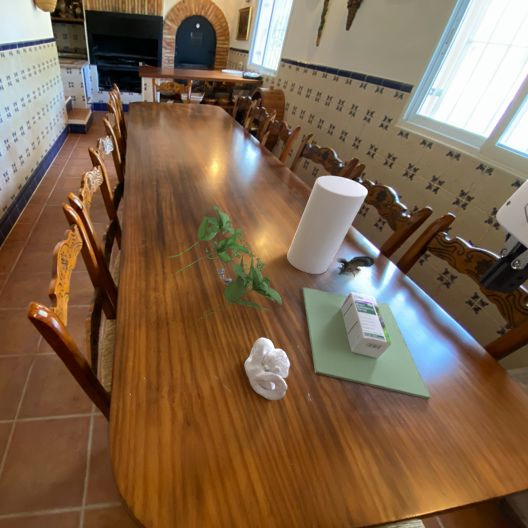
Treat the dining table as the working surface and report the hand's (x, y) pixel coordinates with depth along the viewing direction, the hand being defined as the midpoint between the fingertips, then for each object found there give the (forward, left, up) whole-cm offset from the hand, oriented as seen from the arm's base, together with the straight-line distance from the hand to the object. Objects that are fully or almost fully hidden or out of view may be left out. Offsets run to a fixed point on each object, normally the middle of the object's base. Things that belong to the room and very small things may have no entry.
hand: (493, 287), depth 38 cm
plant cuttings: (+35, -21, -31) cm, 51 cm away
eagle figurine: (-4, -41, -31) cm, 52 cm away
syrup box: (0, -10, -28) cm, 29 cm away
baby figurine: (+22, 0, -31) cm, 38 cm away
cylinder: (+8, -43, -31) cm, 54 cm away
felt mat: (0, -16, -31) cm, 35 cm away
